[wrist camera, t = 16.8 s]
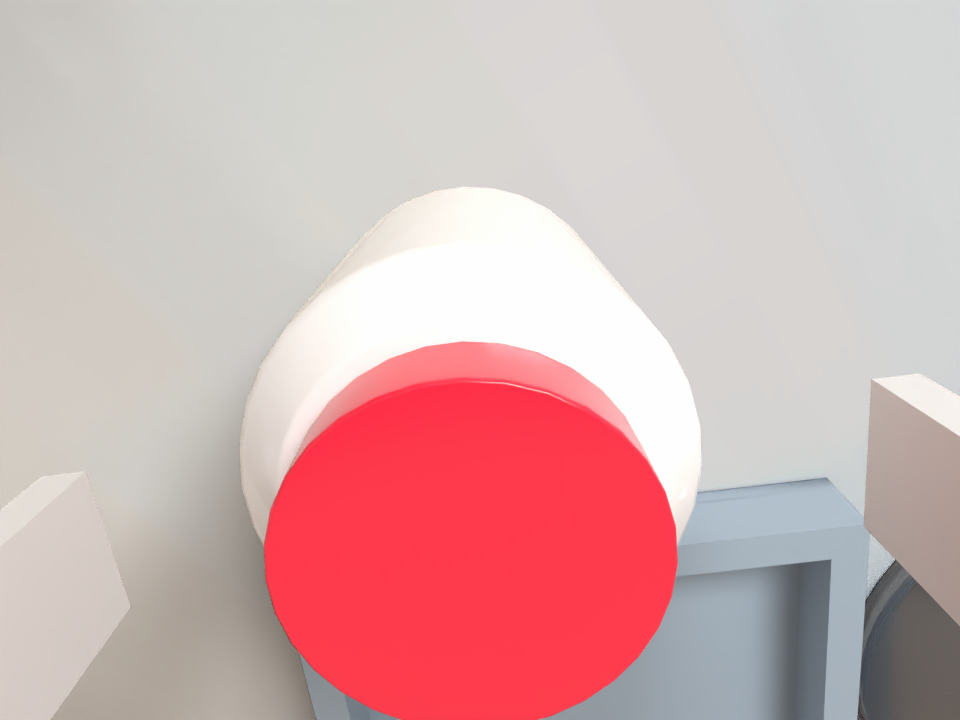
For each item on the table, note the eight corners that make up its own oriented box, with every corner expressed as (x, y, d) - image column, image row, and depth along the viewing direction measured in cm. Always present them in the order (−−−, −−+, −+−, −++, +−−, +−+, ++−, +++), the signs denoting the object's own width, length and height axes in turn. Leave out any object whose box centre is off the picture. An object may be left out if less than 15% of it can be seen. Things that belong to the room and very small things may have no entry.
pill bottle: (607, 448, 21) (741, 779, 11) (346, 459, 21) (225, 801, 11) (613, 179, 18) (798, 271, 8) (315, 192, 18) (115, 300, 8)
